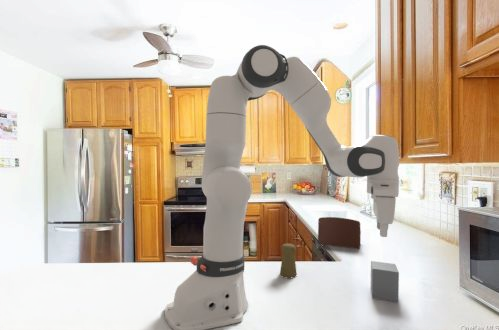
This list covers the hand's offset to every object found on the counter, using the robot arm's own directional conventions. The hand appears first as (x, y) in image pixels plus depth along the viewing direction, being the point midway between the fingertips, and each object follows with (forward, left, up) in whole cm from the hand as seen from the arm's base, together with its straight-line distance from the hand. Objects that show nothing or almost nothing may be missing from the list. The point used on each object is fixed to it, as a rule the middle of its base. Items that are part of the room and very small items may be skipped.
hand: (381, 232), depth 84 cm
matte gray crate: (0, -1, -19) cm, 19 cm away
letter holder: (+33, +43, -20) cm, 57 cm away
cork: (-15, +26, -19) cm, 36 cm away
